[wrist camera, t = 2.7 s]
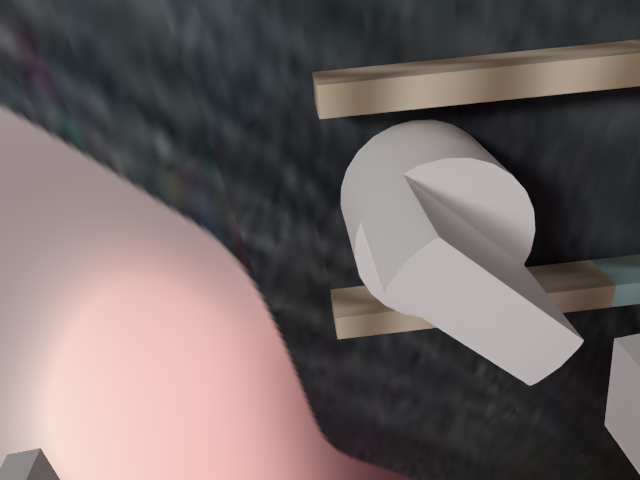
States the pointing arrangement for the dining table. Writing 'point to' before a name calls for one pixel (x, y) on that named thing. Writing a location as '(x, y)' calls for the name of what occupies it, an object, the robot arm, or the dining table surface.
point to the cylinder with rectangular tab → (453, 245)
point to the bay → (475, 87)
